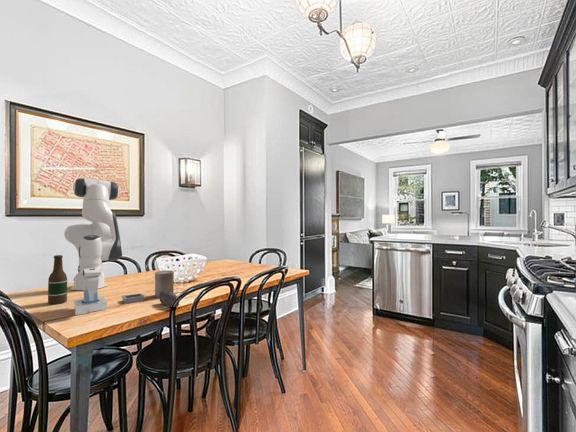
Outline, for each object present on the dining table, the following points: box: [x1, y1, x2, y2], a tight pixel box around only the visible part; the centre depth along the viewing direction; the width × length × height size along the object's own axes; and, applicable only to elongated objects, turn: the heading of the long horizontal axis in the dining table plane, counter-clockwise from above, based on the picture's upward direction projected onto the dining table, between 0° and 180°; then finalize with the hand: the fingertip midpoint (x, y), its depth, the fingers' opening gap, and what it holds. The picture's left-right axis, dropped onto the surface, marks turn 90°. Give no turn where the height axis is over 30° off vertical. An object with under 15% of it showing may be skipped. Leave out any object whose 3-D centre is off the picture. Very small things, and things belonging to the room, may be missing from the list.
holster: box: [122, 293, 145, 305], centre depth 158 cm, size 7×9×3 cm
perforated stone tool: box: [158, 290, 180, 309], centre depth 151 cm, size 15×5×7 cm, turn 47°
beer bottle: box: [47, 254, 68, 306], centre depth 155 cm, size 8×8×24 cm
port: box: [73, 296, 108, 316], centre depth 144 cm, size 12×12×4 cm
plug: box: [83, 290, 99, 303], centre depth 144 cm, size 4×5×9 cm
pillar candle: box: [154, 269, 175, 299], centre depth 170 cm, size 10×10×15 cm
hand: (90, 299), depth 144 cm, fingers open, 5 cm apart
